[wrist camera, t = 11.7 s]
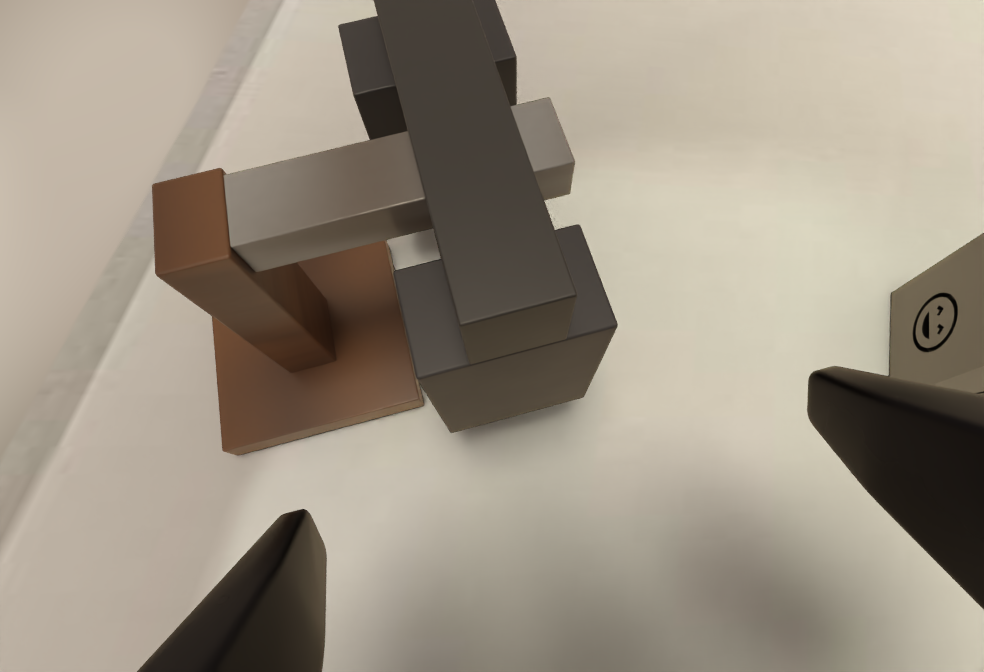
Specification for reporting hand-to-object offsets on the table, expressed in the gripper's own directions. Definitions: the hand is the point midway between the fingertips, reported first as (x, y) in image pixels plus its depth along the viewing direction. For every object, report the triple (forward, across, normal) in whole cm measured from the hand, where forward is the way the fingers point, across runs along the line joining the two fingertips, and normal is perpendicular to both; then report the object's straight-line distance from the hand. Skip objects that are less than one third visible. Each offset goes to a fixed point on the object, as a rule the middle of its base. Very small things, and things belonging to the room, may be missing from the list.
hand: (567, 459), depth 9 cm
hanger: (+15, +4, +2) cm, 16 cm away
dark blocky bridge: (+13, 0, 0) cm, 13 cm away
